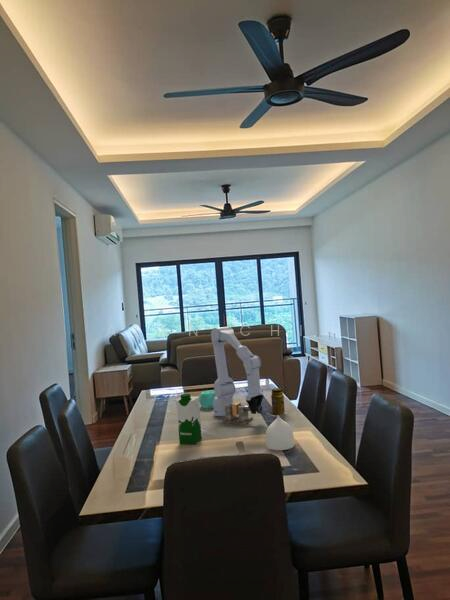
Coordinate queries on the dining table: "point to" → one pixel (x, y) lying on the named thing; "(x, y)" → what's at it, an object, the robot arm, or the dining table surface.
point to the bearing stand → (241, 416)
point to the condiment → (277, 402)
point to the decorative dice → (207, 399)
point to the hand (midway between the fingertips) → (255, 412)
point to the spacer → (235, 408)
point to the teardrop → (279, 435)
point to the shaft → (247, 408)
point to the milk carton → (188, 419)
